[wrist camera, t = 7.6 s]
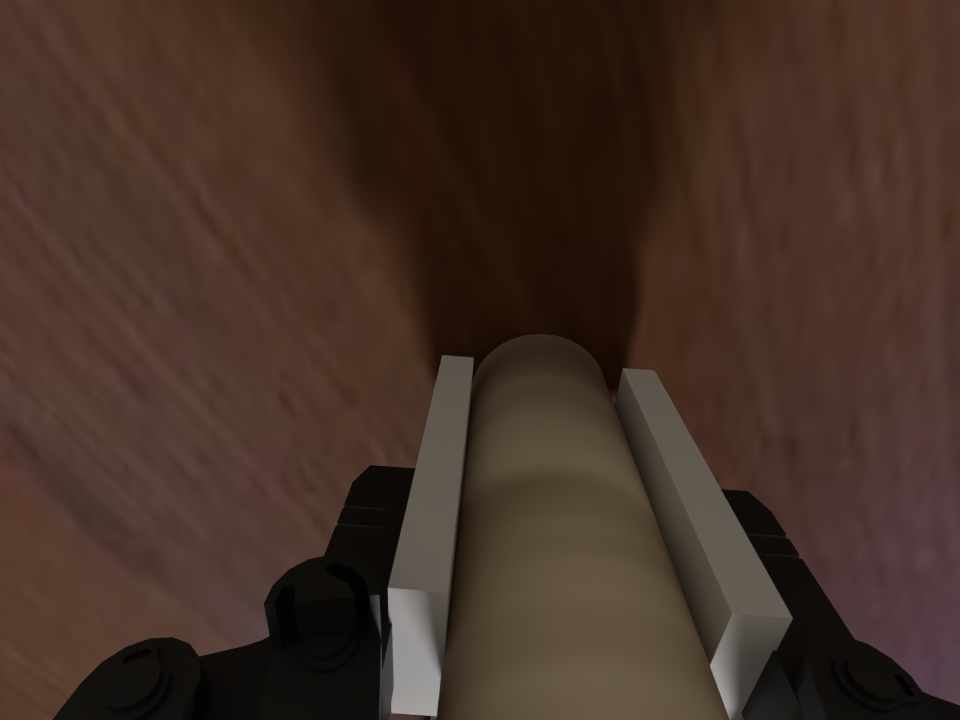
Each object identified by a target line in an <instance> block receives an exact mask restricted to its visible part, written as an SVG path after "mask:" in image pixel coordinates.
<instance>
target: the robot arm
mask: <svg viewBox="0 0 960 720" xmlns="http://www.w3.org/2000/svg"><path fill="white" fill-rule="evenodd" d="M473 361H474V358H473V357H460V356H446V355H442V358H441V363H440V367H439V371H438V375H437V380H436V384H435V388H434V392H433V397H432V401H431V405H430V410H429V414H428V418H427V422H426V427H425V431H424V435H423V439H422V444H421V448H420V452H419V457H418V461H417V465H416V469H415V468H401V467H388V466H374V465H370V466H369V467H368V468H367V469H366V470H365V471H364V472H363V473H362V474H361V475H360V476H359V477H358V478H357V479H356V480H355V481H354V482H353V483H352V486H351V488H350V491H349V493H348V496H347V498H346V501H345V504H344V508H343V509H342V511H341V514H340V516H339V519H338V522H337V526H336V527H335V529H334V532H333V534H332V537H331V539H330V542H329V545H328V547H327V550H326V552H325V555H324V556H322V557H318V558H313V559H308V560H306V561H304V562H303V563H301V564H299V565H297V566H295V567H293V568H291V569H289V570H288V571H287V572H286V573H285V574H284V575H283V576H282V577H281V578H280V579H279V580H278V581H277V582H276V583H275V584H274V585H273V586H272V588H271V590H270V592H269V594H268V596H267V598H266V600H265V602H264V608H265V613H266V618H267V623H268V629H269V634H270V636H269V637H267V638H265V639H264V640H261V641H258V642H255V643H252V644H249V645H246V646H243V647H238V648H234V649H230V650H226V651H221V652H217V653H213V654H208V655H204V656H200V657H199V656H198V655H197V653H196V652H195V650H194V649H193V648H192V646H191V645H190V644H189V643H186V642H184V641H181V640H178V639H176V638H173V637H169V638H150V639H147V640H145V641H142V642H139V643H136V644H133V645H130V646H127V647H125V648H124V649H122V650H121V651H119V652H117V653H116V654H114V655H113V656H111V657H110V658H108V659H106V660H105V661H103V662H102V663H101V664H100V665H99V666H98V667H97V668H96V669H95V670H94V671H93V672H92V673H91V674H90V675H89V676H88V677H87V678H86V679H85V680H84V681H83V682H82V683H81V684H80V685H79V686H78V688H77V689H76V690H75V691H74V693H73V694H72V695H71V697H70V698H69V699H68V700H67V702H66V703H65V704H64V706H63V707H62V708H61V709H60V711H59V712H58V713H57V715H56V716H55V717H54V718H53V720H388V717H389V711H390V706H391V710H392V713H399V714H412V715H426V716H437V708H438V699H439V689H440V680H441V671H442V663H443V657H444V655H445V649H446V639H447V629H448V619H449V610H450V600H451V590H452V581H453V571H454V561H455V552H456V542H457V532H458V523H459V513H460V503H461V494H462V484H463V474H464V464H465V455H466V445H467V435H468V426H469V416H470V406H471V394H472V377H473ZM615 409H616V412H617V414H618V417H619V420H620V422H621V425H622V428H623V431H624V433H625V436H626V439H627V442H628V444H629V447H630V450H631V452H632V455H633V458H634V461H635V463H636V466H637V469H638V471H639V474H640V477H641V480H642V482H643V485H644V488H645V491H646V493H647V496H648V499H649V501H650V504H651V507H652V510H653V512H654V515H655V518H656V521H657V523H658V526H659V529H660V531H661V534H662V537H663V540H664V542H665V545H666V548H667V550H668V553H669V556H670V559H671V561H672V564H673V567H674V570H675V572H676V575H677V578H678V580H679V583H680V586H681V589H682V591H683V594H684V597H685V599H686V602H687V605H688V608H689V610H690V613H691V616H692V619H693V621H694V624H695V627H696V629H697V632H698V635H699V638H700V640H701V643H702V646H703V649H704V651H705V654H706V657H707V659H708V662H709V665H710V668H711V670H712V673H713V676H714V678H715V681H716V684H717V687H718V689H719V692H720V695H721V698H722V700H723V703H724V706H725V708H726V711H727V714H728V717H729V719H730V720H741V719H742V717H743V718H744V720H960V706H959V705H956V704H954V703H951V702H948V701H945V700H942V699H940V698H937V697H934V696H931V695H929V694H927V693H925V692H922V691H921V689H920V688H919V686H918V685H917V684H916V682H915V681H914V680H913V678H912V677H911V676H910V675H909V674H908V673H907V672H906V671H905V670H903V669H902V668H901V667H900V666H899V665H898V664H897V663H896V662H895V661H893V660H892V659H891V658H890V657H888V656H887V655H885V654H883V653H882V652H880V651H878V650H877V649H875V648H874V647H872V646H870V645H869V644H866V643H864V642H861V641H858V640H855V639H854V637H853V636H852V635H851V633H850V632H849V630H848V629H847V627H846V625H845V624H844V622H843V621H842V619H841V618H840V616H839V615H838V613H837V612H836V610H835V609H834V607H833V606H832V604H831V602H830V601H829V599H828V598H827V596H826V595H825V593H824V592H823V590H822V589H821V587H820V586H819V584H818V583H817V581H816V579H815V578H814V576H813V575H812V573H811V572H810V570H809V569H808V567H807V566H806V564H805V563H804V561H803V559H799V553H798V552H797V550H796V549H795V547H794V546H793V544H792V543H791V541H790V540H789V539H787V538H786V533H785V532H784V530H783V529H782V527H781V526H780V524H779V523H778V521H777V520H776V518H775V516H774V515H773V513H772V512H771V511H770V510H769V509H768V508H767V507H765V506H764V505H763V504H762V503H761V502H760V501H758V500H757V499H756V498H755V497H754V496H753V495H751V494H750V493H749V492H748V491H738V490H724V489H720V487H719V485H718V483H717V482H716V480H715V478H714V476H713V474H712V473H711V471H710V469H709V467H708V466H707V464H706V462H705V460H704V458H703V457H702V455H701V453H700V451H699V449H698V448H697V446H696V444H695V442H694V440H693V439H692V437H691V435H690V433H689V432H688V430H687V428H686V426H685V424H684V423H683V421H682V419H681V417H680V415H679V414H678V412H677V410H676V408H675V407H674V405H673V403H672V401H671V399H670V398H669V396H668V394H667V392H666V390H665V389H664V387H663V385H662V383H661V381H660V380H659V378H658V376H657V374H656V373H655V371H654V370H640V369H627V368H623V369H622V374H621V378H620V383H619V388H618V393H617V397H616V402H615Z"/></svg>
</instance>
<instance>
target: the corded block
mask: <svg viewBox="0 0 960 720" xmlns="http://www.w3.org/2000/svg"><path fill="white" fill-rule="evenodd" d="M430 720H730V719H729V717H728V714H727V711H726V708H725V706H724V703H723V700H722V698H721V695H720V692H719V689H718V687H717V684H716V681H715V678H714V676H713V673H712V670H711V668H710V665H709V662H708V659H707V657H706V654H705V651H704V649H703V646H702V643H701V640H700V638H699V635H698V632H697V629H696V627H695V624H694V621H693V619H692V616H691V613H690V610H689V608H688V605H687V602H686V599H685V597H684V594H683V591H682V589H681V586H680V583H679V580H678V578H677V575H676V572H675V570H674V567H673V564H672V561H671V559H670V556H669V553H668V550H667V548H666V545H665V542H664V540H663V537H662V534H661V531H660V529H659V526H658V523H657V521H656V518H655V515H654V512H653V510H652V507H651V504H650V501H649V499H648V496H647V493H646V491H645V488H644V485H643V482H642V480H641V477H640V474H639V471H638V469H637V466H636V463H635V461H634V458H633V455H632V452H631V450H630V447H629V444H628V442H627V439H626V436H625V433H624V431H623V428H622V425H621V422H620V420H619V417H618V414H617V412H616V409H615V406H614V403H613V401H612V398H611V395H610V393H609V390H608V387H607V384H606V382H605V379H604V376H603V373H602V371H601V369H600V367H599V365H598V363H597V362H596V360H595V359H594V358H593V356H592V355H591V354H590V353H589V352H588V351H587V350H586V349H584V348H583V347H582V346H580V345H579V344H577V343H575V342H573V341H571V340H569V339H566V338H564V337H560V336H556V335H549V334H531V335H525V336H520V337H517V338H514V339H511V340H509V341H507V342H505V343H503V344H501V345H500V346H498V347H497V348H495V349H494V350H493V351H491V352H490V353H489V354H488V355H487V356H486V357H485V359H484V360H483V361H482V362H481V364H480V365H479V367H478V369H477V371H476V373H475V375H474V379H473V382H472V394H471V406H470V416H469V426H468V435H467V445H466V455H465V464H464V474H463V484H462V494H461V503H460V513H459V523H458V532H457V542H456V552H455V561H454V571H453V581H452V590H451V600H450V610H449V619H448V629H447V639H446V649H445V655H444V657H443V663H442V671H441V680H440V689H439V699H438V708H437V716H431V717H430Z"/></svg>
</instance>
